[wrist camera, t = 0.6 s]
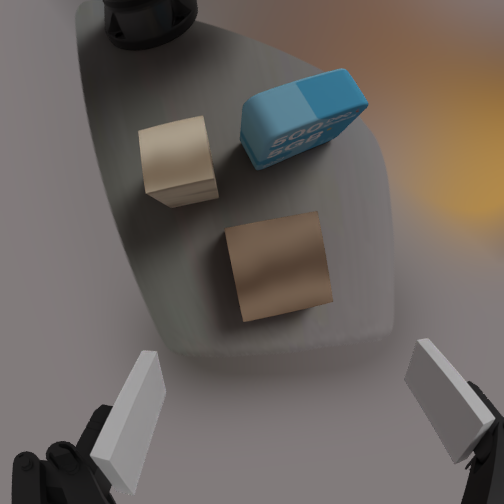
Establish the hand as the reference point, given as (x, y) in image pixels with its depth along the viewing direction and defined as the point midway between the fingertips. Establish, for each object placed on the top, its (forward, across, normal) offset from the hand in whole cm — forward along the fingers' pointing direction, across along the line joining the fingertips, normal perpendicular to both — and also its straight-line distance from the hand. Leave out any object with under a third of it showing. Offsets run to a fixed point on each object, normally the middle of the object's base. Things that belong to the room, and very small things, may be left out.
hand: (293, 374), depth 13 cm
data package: (+27, +3, +13) cm, 30 cm away
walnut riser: (+23, +1, -2) cm, 23 cm away
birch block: (+25, -9, +8) cm, 28 cm away
